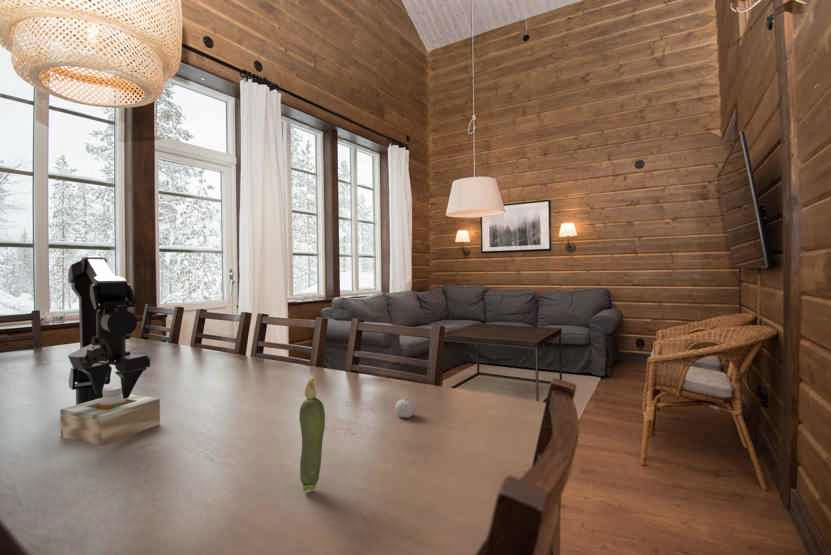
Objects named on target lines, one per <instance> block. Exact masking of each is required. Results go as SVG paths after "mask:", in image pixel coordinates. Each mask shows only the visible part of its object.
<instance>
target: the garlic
mask: <svg viewBox="0 0 831 555" xmlns="http://www.w3.org/2000/svg"><path fill="white" fill-rule="evenodd" d="M394 412H395V413H396V415H397V416H398V417H400V418H403V419H409V418H411V417H412V416H413V415H414V414H415V413H416V405H415V402H413V401H412V397H405V398H402V399H400V400H397V401H396V403H395V405H394Z"/></svg>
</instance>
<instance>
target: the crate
mask: <svg viewBox="0 0 831 555" xmlns="http://www.w3.org/2000/svg"><path fill="white" fill-rule="evenodd" d="M121 394H122V393H121ZM100 399H101V398H100ZM100 399H96V400H92V401H89V402H85V403H82V404H78V405H76V404H74V405H72V406H68V407H64V408H60V409H59V412H60V417H59V418H60V421H59V422H60V438H62V439H68V440H73V441H79V442H83V443H88V444H93V445H99V446H105V445H109V444H112V443H113V442H114V443H115V442H116V441H119V440H121V439H125V438H126V437H129V436H132V435H135V434H138V433H140V432H143V431H145V430H148V429H150V428H153V427H156V426H159V425H160V424H161V410H160V409H161V405H160V404H161V402H160V400H161V399H160V397H154V396H153V397H151V396H146V395H145V396H144V395H137V394H132V393H131V394H130V396H129V397H128V398H126V405H122V406H119V407H116V408H113V409H109V410H104V409H99V400H100Z"/></svg>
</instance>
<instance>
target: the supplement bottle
mask: <svg viewBox="0 0 831 555" xmlns="http://www.w3.org/2000/svg"><path fill="white" fill-rule="evenodd" d="M121 393H122V388H121V385H112V386H105V387H103V390H102V395H103V397H102V398H101V399H100V400H99V409H104V410H109V409H113V408H116V407H119V406H122V405H126V399H123V395H122V394H121Z"/></svg>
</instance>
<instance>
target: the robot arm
mask: <svg viewBox="0 0 831 555" xmlns="http://www.w3.org/2000/svg"><path fill="white" fill-rule="evenodd" d="M67 274H68V275H67V277H68V278H67V279H68V283H69V284H70V287H71V290H72V291H73V292H74V293H75V296H77V297H78V306H79V307H78V312H79V316H78V317H79V318H78V319H79V344H80V345H79V349H77V350H75V351H73V352H72V353H70V354H68V355H67V357H68V359H69V362H70V364H71V366H72V367H71V368H70V373H69V377H68V388H69V389H71V391H75V405H78V404H82V403H85V402H89V401H92V400H96V399H100V398H102V397H104V396H103V395H102V390H103V388H105V386H106V385H110V383H111V375H112V370H113V367H112V365H113V366H114V368H115V369H116V370H117V371H114V373H115V374H116V375H117V376H118V378H120V386H121V388H122V395H123V399H126V398H128V397H129V396H130V394H131V395H132V391H133V389H134V388H135V386H136V385H137V382H138V380H139V378H140V377H141V375H142V374H143V372H144V371H146V370H147V368H149V367H151V358H150V357H149V356H148V355H147V354H146V355H145V354H132V355H131V351H130V350H128V351H127V349H126V348H127V345H126V344H127V340H130V339H131V334H132V333H133V332H134V331H135V330H136V328H137V326H138V319H137V317H136V315H135V314H134V313H132V312H131V311H129V310H128V309H129V308H130V309H131V308H135V307H136V302H137V299H136V296H135V293H134V289H133V288H132V287H131V284H130V283H128V281H127V279H125V278H124V277H123V276H118V275H115V274H114V272H113V271H112V269H111V268H110V266H109V264H108V261H107V257H103V256H89V255H87V256H85V257H84V256H82V257H81V259H80V260H79V261H76V262H75V263H73V264H70V267H69V268H68V272H67Z"/></svg>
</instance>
